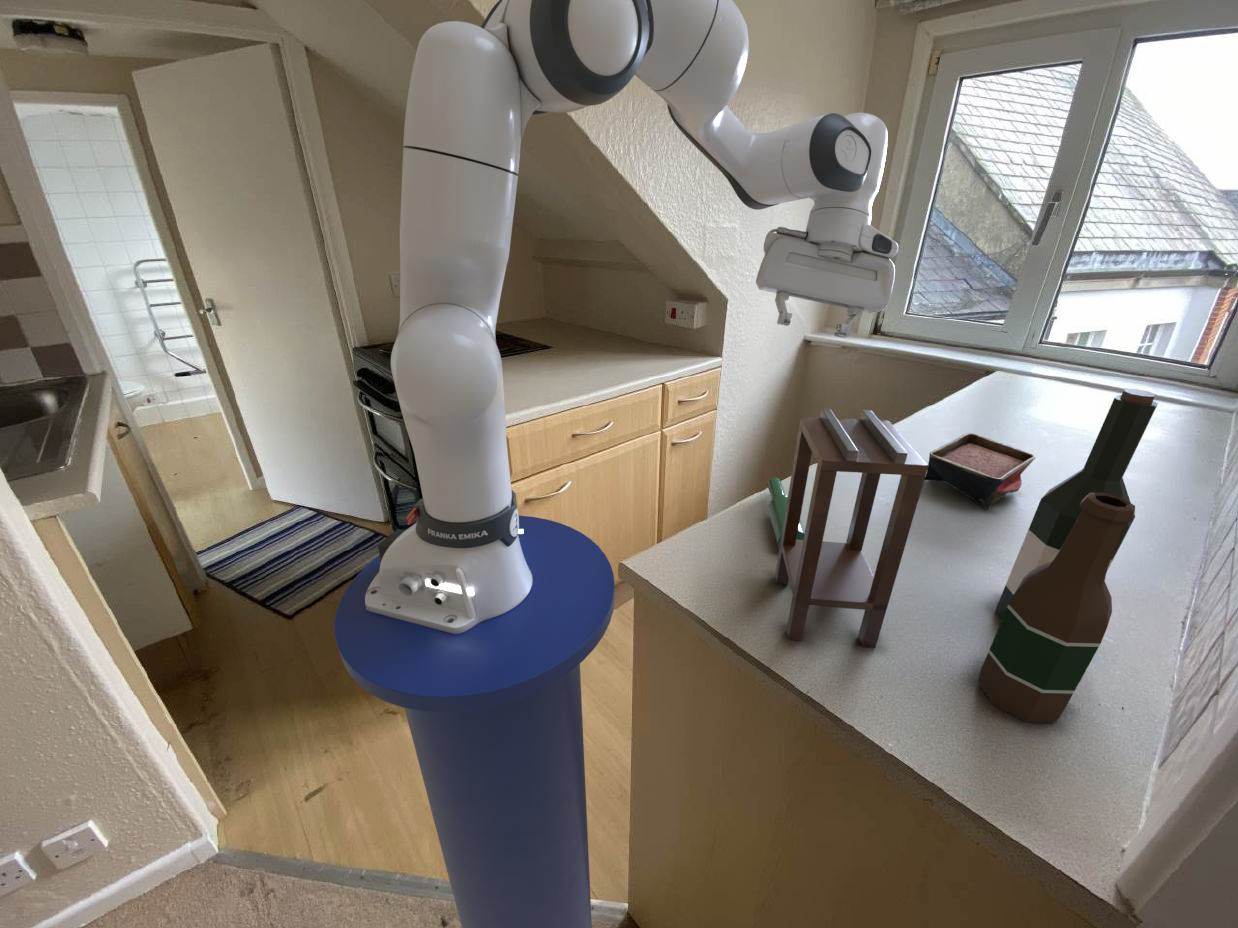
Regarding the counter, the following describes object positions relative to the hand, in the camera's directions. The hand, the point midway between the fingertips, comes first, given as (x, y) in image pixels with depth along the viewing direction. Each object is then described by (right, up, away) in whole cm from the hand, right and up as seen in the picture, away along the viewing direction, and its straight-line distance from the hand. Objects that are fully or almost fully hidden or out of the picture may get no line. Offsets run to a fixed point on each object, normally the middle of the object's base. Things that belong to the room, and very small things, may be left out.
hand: (812, 330), depth 82 cm
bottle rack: (-4, -39, -14) cm, 42 cm away
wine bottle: (+22, -41, -16) cm, 49 cm away
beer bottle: (+12, -45, -26) cm, 54 cm away
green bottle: (-2, -30, +4) cm, 30 cm away
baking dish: (+34, -25, +15) cm, 45 cm away
